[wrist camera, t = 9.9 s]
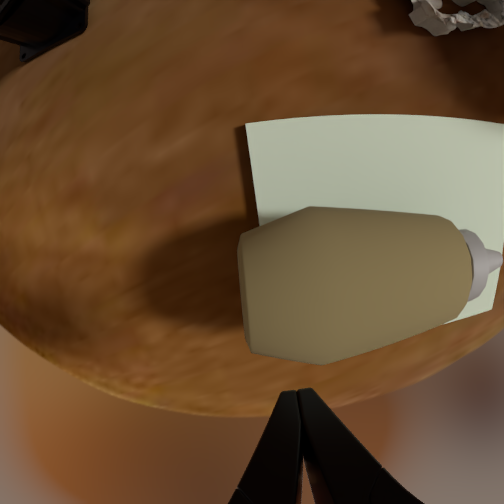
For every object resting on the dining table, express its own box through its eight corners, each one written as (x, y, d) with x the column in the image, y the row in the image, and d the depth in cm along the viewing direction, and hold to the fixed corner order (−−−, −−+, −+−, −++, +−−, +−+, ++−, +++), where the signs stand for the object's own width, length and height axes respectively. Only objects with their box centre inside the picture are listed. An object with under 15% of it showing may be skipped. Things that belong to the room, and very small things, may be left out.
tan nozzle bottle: (231, 176, 14) (496, 178, 15) (237, 270, 21) (451, 248, 22) (247, 344, 9) (556, 275, 10) (250, 389, 16) (487, 333, 17)
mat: (275, 351, 22) (276, 356, 21) (245, 124, 17) (245, 123, 16) (488, 306, 21) (491, 309, 20) (499, 124, 16) (504, 124, 15)
